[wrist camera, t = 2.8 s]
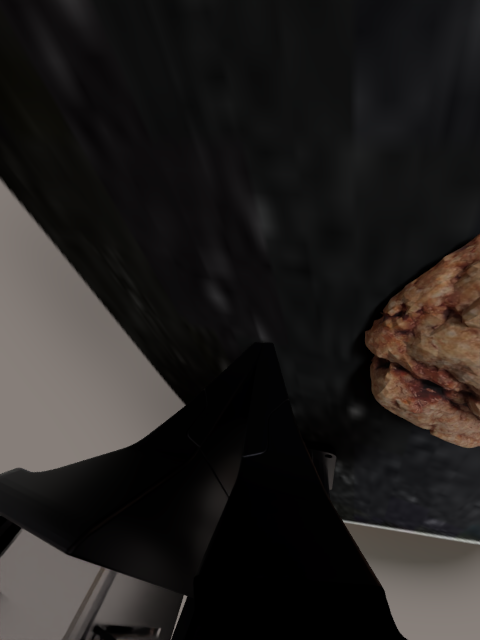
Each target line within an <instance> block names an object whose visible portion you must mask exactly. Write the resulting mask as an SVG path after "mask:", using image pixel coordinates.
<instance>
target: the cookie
mask: <svg viewBox="0 0 480 640" xmlns="http://www.w3.org/2000/svg"><path fill="white" fill-rule="evenodd" d="M380 313H381V312H380ZM381 314H383V316H382V318H381V319H378V320H374V323H373V326H372V328H371V329H370V330H368V331H365V344H366V346H367V347H368V348H369V350H370V351H371V352H372V353H374V354H375V356H374V357H373V359H372V360H371V361H372V364H371V365H370V377H371V381H372V393H373V395H374V397H375V399H376V400H377V401H378V402H379V403H380V404H381V405H382V406H383V407H385V408H386V409H387V410H389V411H391V412H392V413H394V414H396V415H398V416H400V417H401V418H404V419H406V420H407V421H409V422H411V423H413V424H414V425H416V426H419V427H421V428H424V429H429V430H430V433H431V434H432V435H434V436H436V437H438V438H440V439H443V440H445V441H447V442H450V443H453V444H456V445H459V446H462V447H466V448H473V447H476V446H480V234H479V235H477V236H476V237H475V238H474V239H473V240H472V241H470V242H469V243H468V244H466V245H465V246H463V247H462V248H460V249H458V250H457V251H455V252H453V253H451V254H449V255H447V256H445V257H444V258H443V259H442V260H441V261H440V262H439V263H437V264H436V265H435V266H434V267H433V268H431V269H430V270H429V271H427V272H425V273H424V274H422V275H421V276H420V277H418V278H417V279H415V280H414V281H412V282H411V283H409V284H408V285H406V286H405V287H404V288H403V290H402V291H400V292H399V293H398V294H396V295H395V296H394V297H392V298H391V299H390V300H389V302H388V304H387V305H386V307H385V308H384V309H383V313H381Z"/></svg>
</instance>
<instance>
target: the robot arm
mask: <svg viewBox="0 0 480 640" xmlns="http://www.w3.org/2000/svg"><path fill="white" fill-rule="evenodd" d="M335 463H336V451H335V449H333V448H331V447H328V446H322V445H317V444H312V443H307V442H304V441H303V439H302V436H301V434H300V431H299V429H298V426H297V424H296V421H295V418H294V415H293V412H292V408H291V405H290V401H289V398H288V394H287V391H286V387H285V384H284V380H283V376H282V373H281V369H280V366H279V362H278V359H277V355H276V351H275V348H274V344H273V343H262V342H255V343H254V344H253V345H252V346H251V347H249V348H248V349H247V350H246V351H245V352H244V353H243V354H242V355H241V356H240V357H239V358H238V359H236V360H235V361H234V362H233V363H232V364H231V365H230V366H229V367H228V368H227V369H226V370H224V371H223V372H222V373H221V374H220V375H219V376H218V377H217V378H216V379H215V380H214V381H213V382H211V383H210V384H209V385H208V386H207V387H206V388H205V390H203V391H202V392H200V393H199V394H198V395H197V396H196V397H195V398H194V399H193V400H192V401H190V402H189V403H188V404H187V405H186V406H184V408H182V409H181V410H180V411H178V412H177V413H176V414H174V415H173V416H172V417H171V418H169V419H168V420H167V421H166V422H164V423H163V424H162V425H160V426H159V427H158V428H156V429H155V430H154V431H152V432H151V433H150V434H149V435H147V436H146V437H144V438H143V439H142V440H140V441H138V442H137V443H135V444H133V445H131V446H129V447H126V448H123V449H120V450H117V451H113V452H110V453H107V454H103V455H100V456H97V457H93V458H91V459H87V460H83V461H80V462H77V463H74V464H70V465H67V466H64V467H60V468H57V469H53V470H49V471H44V472H30V471H27V470H25V469H22V468H15V469H13V470H10V471H7V472H4V473H2V474H0V640H170V639H171V636H172V633H173V629H174V626H175V622H176V619H177V616H178V612H179V609H180V606H181V603H182V599H183V596H184V595H186V596H187V599H186V602H185V605H184V607H183V610H182V613H181V615H180V618H179V621H178V623H177V626H176V629H175V631H174V634H173V636H172V639H171V640H407V639H406V638H404V637H403V636H402V635H401V634H400V632H399V631H398V629H397V627H396V625H395V622H394V620H393V617H392V615H391V612H390V608H389V605H388V602H387V599H386V595H385V591H384V589H383V587H382V585H381V584H380V582H379V581H378V579H377V577H376V576H375V574H374V572H373V571H372V569H371V567H370V566H369V564H368V562H367V561H366V559H365V557H364V556H363V554H362V553H361V551H360V549H359V547H358V546H357V544H356V542H355V541H354V539H353V537H352V536H351V534H350V533H349V531H348V529H347V528H346V526H345V524H344V523H343V521H342V519H341V518H340V516H339V514H338V513H337V511H336V509H335V508H334V506H333V504H332V502H331V500H330V493H329V490H331V489H332V484H333V477H334V470H335Z"/></svg>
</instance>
